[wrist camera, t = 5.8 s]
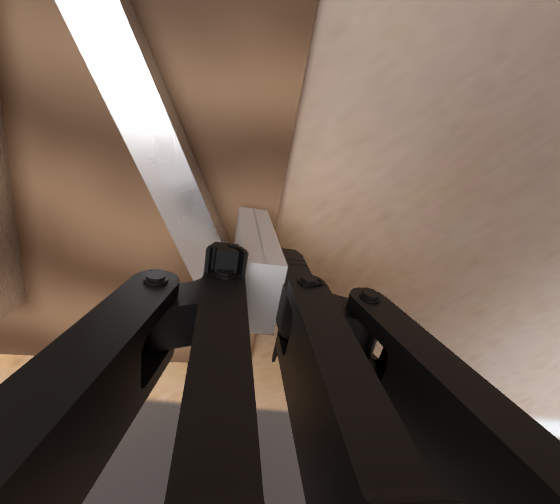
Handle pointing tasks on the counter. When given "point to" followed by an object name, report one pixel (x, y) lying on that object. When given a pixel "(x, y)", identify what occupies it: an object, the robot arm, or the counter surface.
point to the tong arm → (146, 121)
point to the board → (116, 156)
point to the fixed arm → (8, 238)
